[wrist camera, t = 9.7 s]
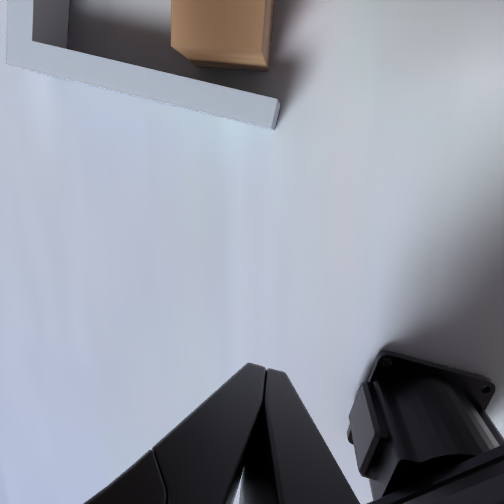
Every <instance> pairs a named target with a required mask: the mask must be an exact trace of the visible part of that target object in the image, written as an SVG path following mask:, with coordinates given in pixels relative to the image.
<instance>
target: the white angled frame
mask: <svg viewBox="0 0 504 504" xmlns="http://www.w3.org/2000/svg"><path fill="white" fill-rule="evenodd" d="M69 7H70V0H7V32H6V64H7V65H11V66H14V67H18V68H22V69H26V70H30V71H33V72H37V73H41V74H45V75H49V76H53V77H57V78H61V79H65V80H70V81H74V82H78V83H82V84H86V85H90V86H94V87H99V88H103V89H107V90H111V91H115V92H119V93H123V94H127V95H132V96H136V97H140V98H144V99H148V100H152V101H156V102H161V103H165V104H169V105H173V106H177V107H181V108H185V109H190V110H194V111H198V112H202V113H206V114H210V115H214V116H218V117H223V118H227V119H231V120H235V121H239V122H243V123H247V124H252V125H256V126H260V127H264V128H268V129H272V130H275V126H276V122H277V118H278V114H279V110H280V103H279V101H278V99H275V98H271V97H267V96H263V95H258V94H254V93H250V92H246V91H242V90H237V89H233V88H229V87H225V86H220V85H216V84H212V83H208V82H204V81H199V80H195V79H191V78H187V77H183V76H178V75H174V74H170V73H166V72H161V71H157V70H153V69H149V68H145V67H140V66H136V65H132V64H128V63H124V62H119V61H115V60H111V59H107V58H102V57H98V56H94V55H90V54H86V53H81V52H77V51H73V50H69V49H67V38H68V23H69Z"/></svg>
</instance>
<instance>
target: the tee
mask: <svg viewBox="0 0 504 504" xmlns="http://www.w3.org/2000/svg"><path fill="white" fill-rule="evenodd" d="M274 1H275V0H171V47H173V48H174V49H175V50H177V51H178V52H179V53H181V54H182V55H183V56H184V57H186V58H187V59H188V60H190V61H191V62H192V63H193V64H195V65H196V66H198V67H213V68H228V69H243V70H258V71H269V60H270V48H271V36H272V24H273V12H274Z"/></svg>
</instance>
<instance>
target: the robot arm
mask: <svg viewBox="0 0 504 504" xmlns="http://www.w3.org/2000/svg"><path fill="white" fill-rule="evenodd" d="M384 359H390V360H389V362H382V361H383V360H384ZM485 385H487V386H486V387H485V388H483V389H481V387H482V386H485ZM494 392H495V385H494V384H493V383H492V382H491V380H490V379H488V378H486V377H483V376H479V375H475V374H471V373H468V372H464V371H460V370H457V369H453V368H449V367H445V366H442V365H438V364H434V363H431V362H427V361H423V360H419V359H416V358H412V357H408V356H405V355H401V354H397V353H393V352H390V351H382V352H380V353H379V354H378V355H377V357H376V359H375V362H374V365H373V367H372V370H371V372H370V375H369V377H368V380H367V381H365V382H363V383H362V384H361V386H360V388H359V391H358V394H357V396H356V399H355V401H354V404H353V407H352V409H351V412H350V414H349V420H350V426H349V428H348V431H347V437H348V441H349V442H350V443H351V444H353V445H354V448H355V454H356V460H357V465H358V470H359V472H360V474H361V476H363V477H366V478H369V482H370V487H371V492H372V497H373V501H372V502H370V503H367V504H504V438H503V437H502V435H501V434H500V433H499V431H498V430H497V428H496V427H495V425H494V424H493V422H492V421H491V419H490V418H489V417H488V415H487V414H486V412H485V409H486V407H487V405H488V404H489V402H490V400H491V398H492V396H493V394H494ZM242 472H243V474H242ZM241 476H242V480H241V489H240V501H239V504H360V503H359V501H358V499H357V498H356V496H355V494H354V492H353V490H352V489H351V487H350V485H349V483H348V482H347V480H346V478H345V476H344V475H343V473H342V471H341V469H340V468H339V466H338V464H337V462H336V461H335V459H334V457H333V455H332V453H331V452H330V450H329V448H328V446H327V445H326V443H325V441H324V439H323V438H322V436H321V434H320V432H319V431H318V429H317V427H316V425H315V424H314V422H313V420H312V418H311V416H310V415H309V413H308V411H307V409H306V408H305V406H304V404H303V402H302V401H301V399H300V397H299V395H298V394H297V392H296V390H295V388H294V387H293V385H292V383H291V381H290V379H289V378H288V376H287V374H286V373H285V372H282V371H278V370H274V369H271V368H269V369H267V370H266V368H265V367H263V366H260V365H256V364H252V363H247V364H246V365H245V366H243V367H242V368H241V369H240V370H239V371H238V372H237V373H236V374H234V375H233V376H232V377H231V378H230V379H229V380H228V381H227V382H225V383H224V384H223V385H222V386H221V387H220V388H219V389H218V390H217V391H215V392H214V393H213V394H212V395H211V396H210V397H209V398H208V399H206V400H205V401H204V402H203V403H202V404H201V405H200V406H199V407H197V408H196V409H195V410H194V411H193V412H192V413H191V414H190V415H188V416H187V417H186V418H185V419H184V420H183V421H182V422H181V423H179V424H178V425H177V426H176V427H175V428H174V429H173V430H172V431H170V432H169V433H168V434H167V435H166V436H165V437H164V438H163V439H161V440H160V441H159V442H158V443H157V444H156V445H155V446H154V447H153V448H152V450H149V451H148V452H147V453H145V454H144V455H143V456H142V457H141V458H140V459H139V460H138V461H137V462H135V463H134V464H133V465H132V466H131V467H130V468H128V469H127V470H126V471H125V472H124V473H122V474H121V475H120V476H119V477H118V478H116V479H115V480H114V481H113V482H112V483H110V484H109V485H108V486H107V487H105V488H104V489H103V490H101V491H100V492H98V493H97V494H96V495H94V496H93V497H92V498H90V499H89V500H88V501H86V502H85V503H83V504H233V502H234V498H235V495H236V492H237V489H238V486H239V482H240V479H241Z"/></svg>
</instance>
